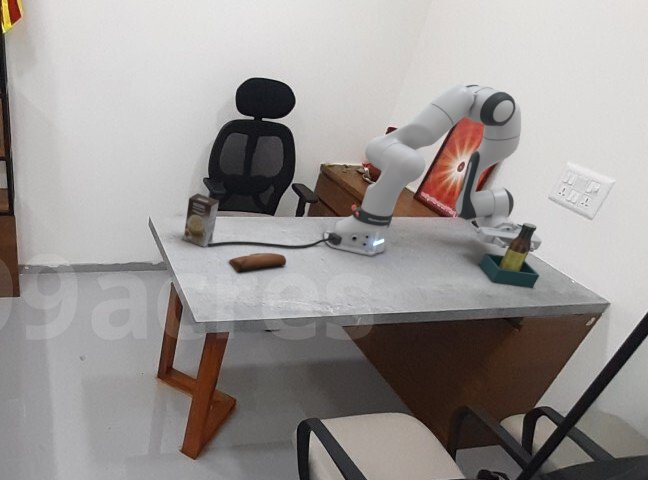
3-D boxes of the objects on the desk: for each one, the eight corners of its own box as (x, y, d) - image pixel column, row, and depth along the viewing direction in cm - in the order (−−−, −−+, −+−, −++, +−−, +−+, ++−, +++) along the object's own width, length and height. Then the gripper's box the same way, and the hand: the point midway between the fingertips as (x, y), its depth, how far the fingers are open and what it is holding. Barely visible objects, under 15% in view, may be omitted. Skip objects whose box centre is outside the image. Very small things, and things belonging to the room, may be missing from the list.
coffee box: (182, 239, 186) (187, 197, 177) (191, 234, 191) (196, 192, 182) (204, 247, 182) (211, 205, 174) (213, 241, 187) (219, 200, 178)
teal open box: (492, 282, 181) (499, 269, 178) (478, 265, 191) (484, 253, 188) (532, 287, 180) (539, 275, 177) (516, 270, 190) (522, 258, 188)
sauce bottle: (517, 282, 182) (545, 231, 172) (499, 278, 183) (525, 227, 172) (510, 273, 188) (537, 223, 177) (492, 270, 189) (517, 220, 178)
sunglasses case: (271, 254, 181) (280, 244, 176) (279, 271, 179) (288, 261, 173) (227, 260, 174) (235, 249, 169) (234, 278, 172) (242, 268, 166)
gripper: (476, 219, 191) (491, 235, 179) (533, 227, 190) (552, 244, 178) (469, 235, 194) (483, 251, 183) (525, 243, 193) (543, 260, 181)
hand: (518, 248), depth 180 cm, fingers open, 8 cm apart
